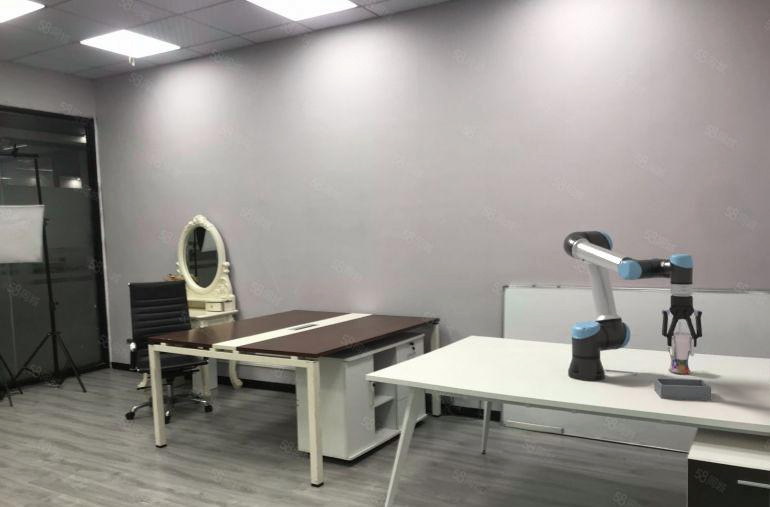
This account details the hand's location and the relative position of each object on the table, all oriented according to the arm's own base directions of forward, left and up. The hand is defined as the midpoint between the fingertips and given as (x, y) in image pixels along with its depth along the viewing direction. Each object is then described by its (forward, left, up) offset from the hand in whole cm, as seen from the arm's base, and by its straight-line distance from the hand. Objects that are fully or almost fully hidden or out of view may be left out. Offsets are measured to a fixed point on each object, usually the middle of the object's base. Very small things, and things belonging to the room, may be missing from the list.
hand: (681, 354), depth 212 cm
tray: (0, 0, -16) cm, 16 cm away
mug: (+9, +37, -16) cm, 41 cm away
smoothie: (0, 0, -2) cm, 2 cm away
